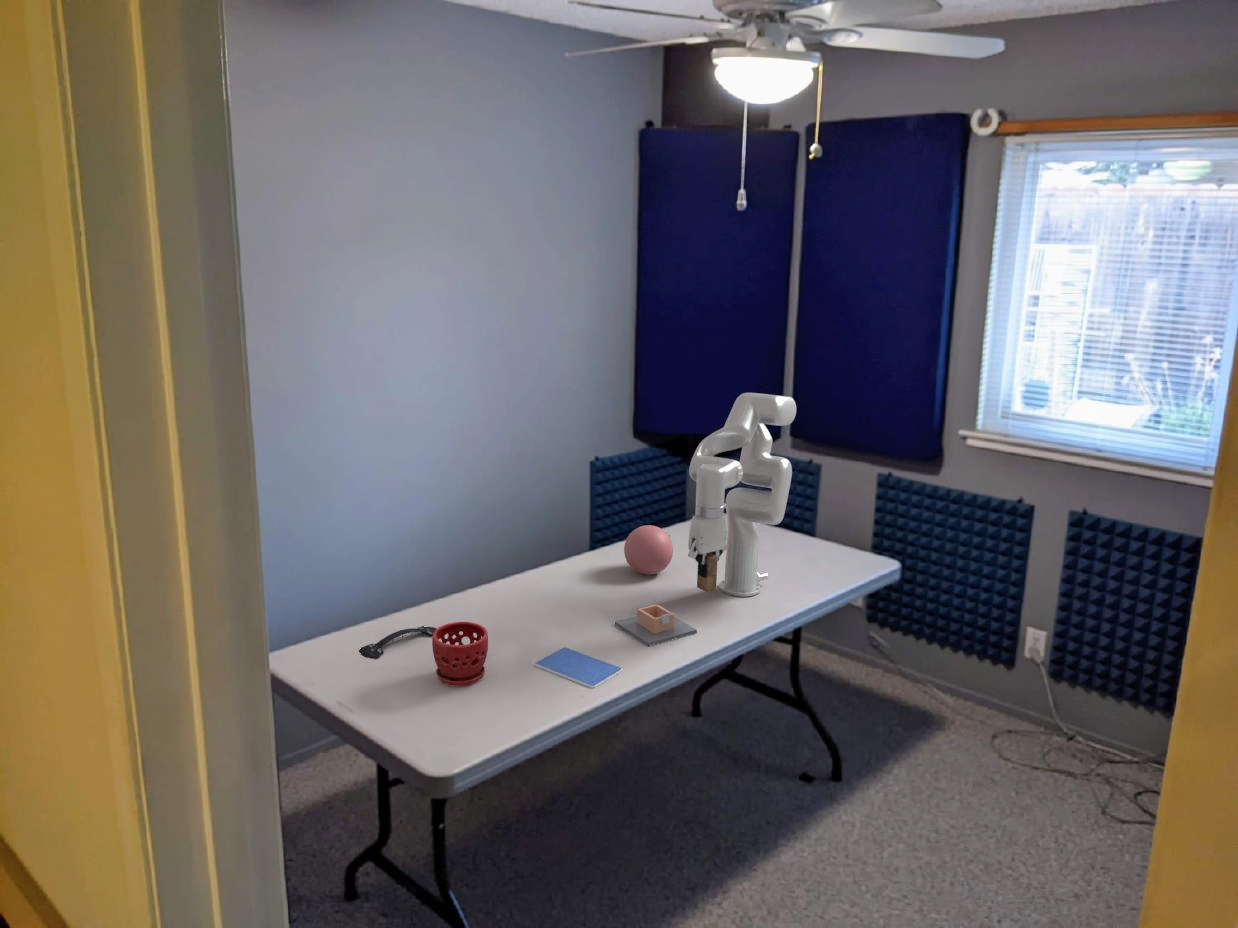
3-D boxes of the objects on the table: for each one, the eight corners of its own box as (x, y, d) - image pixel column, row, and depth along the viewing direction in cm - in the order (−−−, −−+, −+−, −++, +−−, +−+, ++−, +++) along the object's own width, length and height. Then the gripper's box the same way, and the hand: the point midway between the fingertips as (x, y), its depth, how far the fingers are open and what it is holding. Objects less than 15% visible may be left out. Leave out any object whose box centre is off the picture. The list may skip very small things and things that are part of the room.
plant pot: (422, 677, 228) (421, 631, 225) (467, 660, 237) (466, 616, 234) (454, 697, 219) (453, 649, 216) (499, 679, 228) (499, 633, 225)
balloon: (689, 568, 304) (691, 522, 300) (653, 585, 288) (655, 537, 284) (650, 557, 313) (652, 512, 309) (613, 573, 297) (614, 527, 293)
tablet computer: (624, 672, 234) (625, 667, 233) (593, 691, 224) (593, 686, 224) (564, 650, 245) (564, 645, 245) (532, 667, 235) (532, 663, 235)
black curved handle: (349, 653, 240) (348, 641, 240) (430, 625, 258) (430, 614, 257) (369, 665, 234) (368, 653, 234) (450, 635, 252) (450, 623, 251)
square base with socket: (661, 612, 269) (662, 593, 267) (696, 633, 256) (697, 613, 254) (614, 624, 260) (615, 605, 258) (648, 646, 247) (649, 626, 246)
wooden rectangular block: (705, 584, 260) (707, 550, 257) (716, 590, 257) (717, 555, 254) (696, 587, 259) (698, 552, 256) (707, 592, 255) (709, 558, 252)
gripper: (724, 501, 259) (721, 564, 264) (676, 512, 250) (674, 576, 255) (742, 509, 253) (739, 573, 258) (694, 520, 244) (692, 586, 249)
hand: (707, 574), depth 256 cm, fingers closed on wooden rectangular block, 2 cm apart
